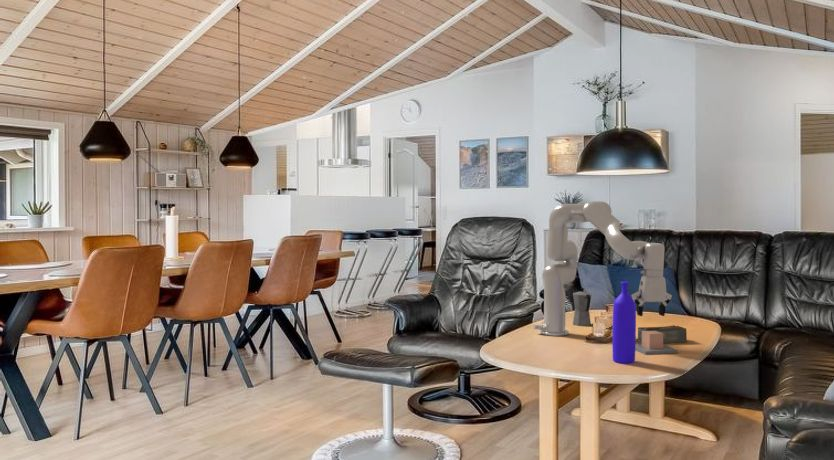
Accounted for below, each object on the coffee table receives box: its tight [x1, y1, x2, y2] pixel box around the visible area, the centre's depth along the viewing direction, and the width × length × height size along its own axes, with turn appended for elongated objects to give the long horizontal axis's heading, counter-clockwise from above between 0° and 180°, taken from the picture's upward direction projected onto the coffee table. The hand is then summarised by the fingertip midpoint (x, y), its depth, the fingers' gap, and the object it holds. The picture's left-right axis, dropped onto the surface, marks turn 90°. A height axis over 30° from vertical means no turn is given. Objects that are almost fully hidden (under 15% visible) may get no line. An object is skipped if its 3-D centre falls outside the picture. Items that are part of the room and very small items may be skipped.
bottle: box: [612, 281, 637, 365], centre depth 250 cm, size 8×8×30 cm
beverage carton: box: [637, 324, 688, 344], centre depth 287 cm, size 8×19×7 cm, turn 98°
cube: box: [641, 331, 664, 349], centre depth 270 cm, size 6×6×6 cm
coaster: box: [635, 342, 679, 355], centre depth 270 cm, size 14×14×1 cm
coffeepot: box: [572, 287, 592, 327], centre depth 325 cm, size 15×9×18 cm, turn 9°
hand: (650, 315), depth 270 cm, fingers open, 9 cm apart
